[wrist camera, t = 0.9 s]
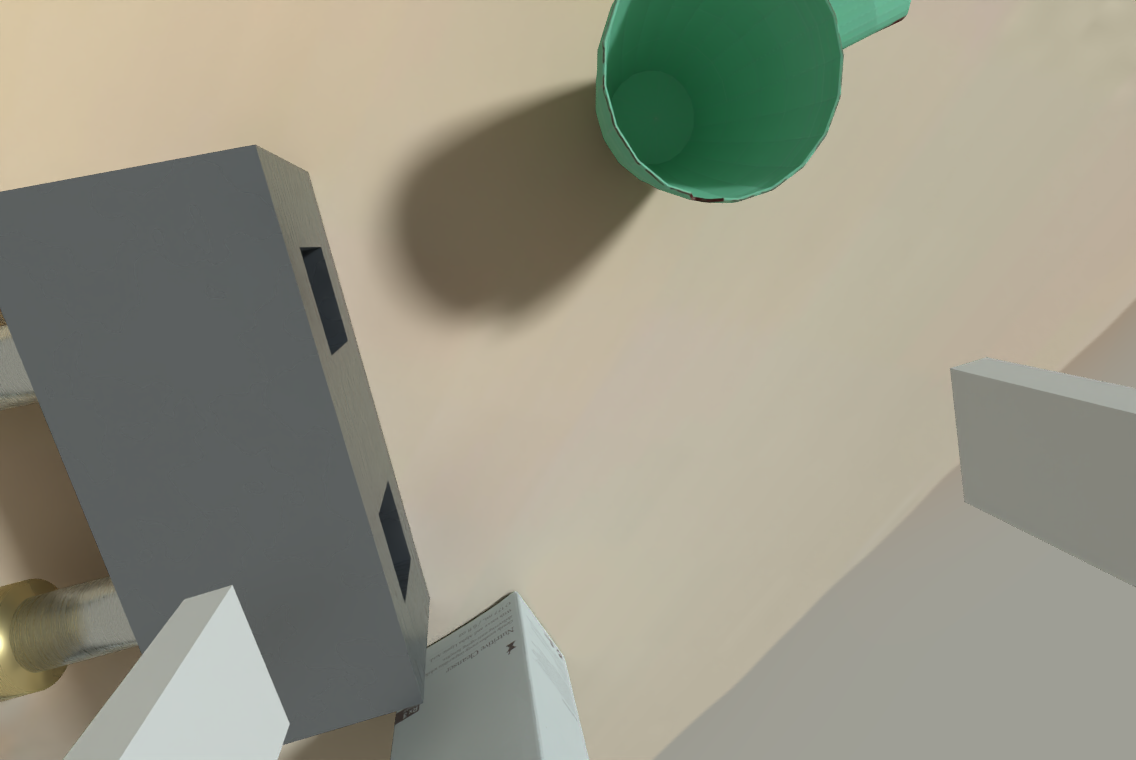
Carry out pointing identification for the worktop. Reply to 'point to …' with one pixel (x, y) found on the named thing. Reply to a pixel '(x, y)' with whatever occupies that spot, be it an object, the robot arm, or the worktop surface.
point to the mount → (221, 417)
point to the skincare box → (493, 695)
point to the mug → (725, 87)
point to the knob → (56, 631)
